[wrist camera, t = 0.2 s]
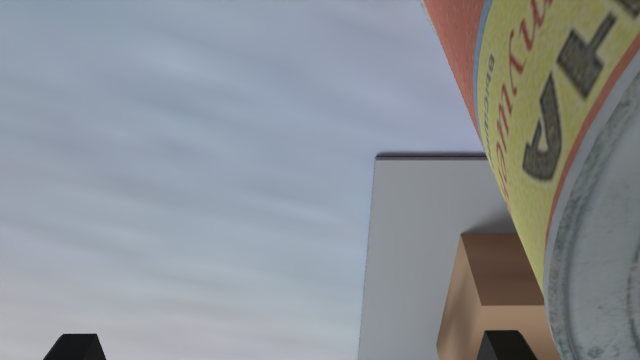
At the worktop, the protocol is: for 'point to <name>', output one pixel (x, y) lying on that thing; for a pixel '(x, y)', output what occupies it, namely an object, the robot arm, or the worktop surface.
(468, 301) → the walnut slab
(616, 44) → the canned food
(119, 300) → the worktop surface
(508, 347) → the robot arm
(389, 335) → the light gray board
